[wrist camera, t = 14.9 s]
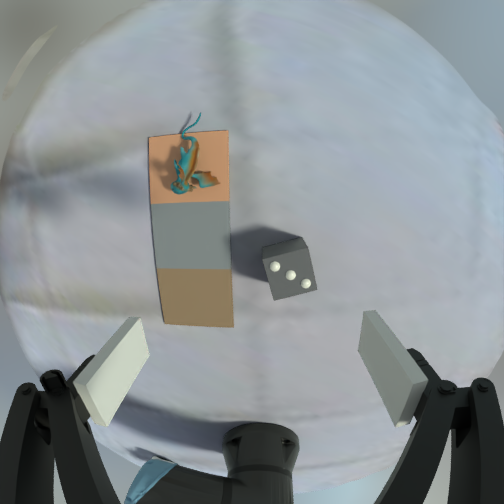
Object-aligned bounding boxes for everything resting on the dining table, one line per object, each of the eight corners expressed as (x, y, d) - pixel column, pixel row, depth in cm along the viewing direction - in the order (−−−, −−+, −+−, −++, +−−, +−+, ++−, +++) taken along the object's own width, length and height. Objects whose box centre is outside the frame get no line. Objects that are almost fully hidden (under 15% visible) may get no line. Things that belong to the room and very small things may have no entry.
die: (310, 273, 35) (317, 290, 30) (272, 283, 35) (273, 301, 30) (301, 236, 34) (308, 247, 29) (262, 247, 34) (262, 259, 29)
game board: (233, 326, 37) (233, 327, 37) (165, 322, 38) (164, 323, 37) (228, 130, 30) (228, 130, 30) (149, 137, 31) (149, 137, 30)
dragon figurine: (141, 142, 30) (153, 198, 28) (180, 103, 26) (197, 161, 24) (180, 152, 35) (195, 202, 34) (218, 120, 31) (238, 172, 30)
